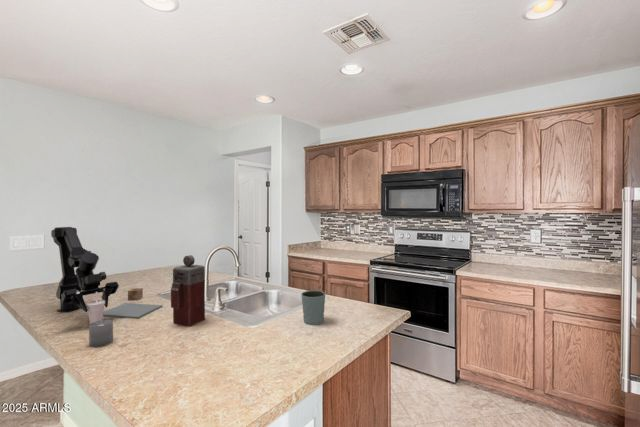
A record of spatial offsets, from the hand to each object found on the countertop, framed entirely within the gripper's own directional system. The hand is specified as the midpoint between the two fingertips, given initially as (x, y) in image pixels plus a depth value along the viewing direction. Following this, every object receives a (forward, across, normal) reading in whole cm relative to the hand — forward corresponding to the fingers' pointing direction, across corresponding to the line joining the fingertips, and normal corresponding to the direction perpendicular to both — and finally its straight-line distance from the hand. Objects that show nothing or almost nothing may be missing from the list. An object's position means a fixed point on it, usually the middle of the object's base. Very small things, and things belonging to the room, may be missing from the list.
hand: (97, 309), depth 127 cm
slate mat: (-1, +16, +11) cm, 20 cm away
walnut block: (-14, +26, +24) cm, 38 cm away
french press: (+22, +24, -12) cm, 35 cm away
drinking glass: (+52, +57, -42) cm, 88 cm away
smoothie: (+4, 0, +6) cm, 7 cm away
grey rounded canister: (+18, -5, -8) cm, 20 cm away
